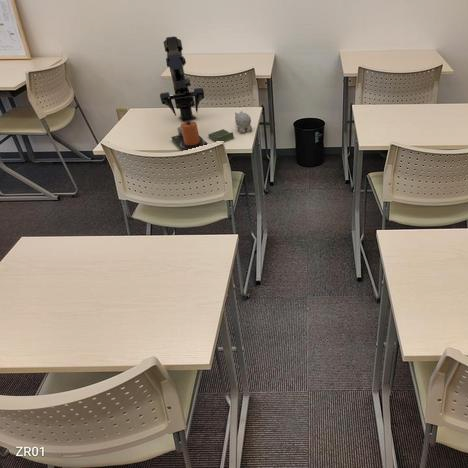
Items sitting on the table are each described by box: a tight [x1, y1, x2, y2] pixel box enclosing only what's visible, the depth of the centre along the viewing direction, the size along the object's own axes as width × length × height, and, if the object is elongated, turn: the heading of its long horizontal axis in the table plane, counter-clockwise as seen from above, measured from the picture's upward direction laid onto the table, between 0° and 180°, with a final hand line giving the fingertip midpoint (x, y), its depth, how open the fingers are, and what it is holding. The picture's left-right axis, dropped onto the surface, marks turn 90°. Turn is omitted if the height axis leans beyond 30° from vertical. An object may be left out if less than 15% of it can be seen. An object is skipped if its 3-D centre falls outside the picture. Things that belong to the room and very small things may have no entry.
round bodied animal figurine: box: [234, 111, 253, 134], centre depth 225 cm, size 7×12×8 cm, turn 25°
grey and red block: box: [176, 126, 183, 136], centre depth 218 cm, size 5×2×4 cm, turn 86°
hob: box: [171, 134, 209, 152], centre depth 215 cm, size 20×11×2 cm, turn 32°
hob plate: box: [180, 137, 206, 149], centre depth 212 cm, size 11×11×1 cm
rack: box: [207, 128, 235, 143], centre depth 219 cm, size 9×8×3 cm
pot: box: [180, 120, 200, 145], centre depth 209 cm, size 7×7×9 cm
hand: (186, 113), depth 211 cm, fingers open, 9 cm apart
